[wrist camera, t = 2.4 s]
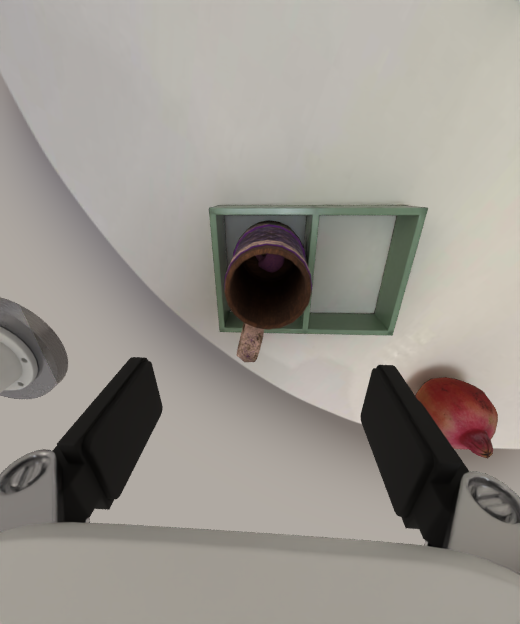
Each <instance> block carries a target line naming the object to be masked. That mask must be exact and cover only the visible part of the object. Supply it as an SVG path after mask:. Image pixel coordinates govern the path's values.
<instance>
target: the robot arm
mask: <svg viewBox="0 0 520 624" xmlns="http://www.w3.org/2000/svg"><path fill="white" fill-rule="evenodd" d="M37 373H38V366H37V361H36V359H35V357H34V355H33V353H32V352H31V350H30V349H29V347H28V346H27V345H26V344H25V343H24V342H23V341H22V340H21V339H19V338H18V337H17V336H16V335H14V334H13V333H11V332H10V331H8V330H6V329H4V328H2V327H1V326H0V393H1V392H2V391H4V390H19V389H22V388H24V387H26V386H28V385H29V384H30V383H31V382H33V381H34V379H35V378H36V376H37ZM161 413H162V403H161V399H160V395H159V391H158V387H157V383H156V379H155V375H154V371H153V367H152V363H151V362H150V361H148V360H147V358H140V357H137V358H136V357H133V358H130V359H129V360H128V361H127V363H126V364H125V365H124V366H123V367H122V368H121V370H120V371H119V372H118V373H117V374H116V375H115V377H114V378H113V379H112V380H111V381H110V382H109V384H108V385H107V386H106V387H105V388H104V389H103V391H102V392H101V393H100V394H99V396H98V397H97V398H96V399H95V400H94V401H93V402H92V403H91V405H90V406H89V407H88V408H87V409H86V410H85V412H84V413H83V414H82V415H81V416H80V417H79V419H78V420H77V421H76V422H75V423H74V425H73V426H72V427H71V428H70V429H69V430H68V432H67V433H66V434H65V435H64V436H63V437H62V439H61V440H60V441H59V442H58V443H57V446H56V447H55V449H54V450H53V451H51V450H37V451H34V452H31V453H28V454H26V455H24V456H23V457H21V458H19V459H17V460H16V461H14V462H13V463H12V464H10V465H9V466H8V467H7V468H6V469H5V470H4V471H3V472H2V473H1V474H0V624H520V497H519V496H518V495H517V494H516V493H515V492H514V491H513V490H511V489H510V488H509V487H508V486H507V485H506V484H504V483H503V482H501V481H499V480H498V479H496V478H494V477H492V476H490V475H488V474H486V473H481V472H477V471H473V472H469V471H468V469H467V467H466V466H465V465H464V463H463V462H462V460H461V459H460V457H459V456H458V454H457V453H456V451H455V450H454V449H453V447H452V446H451V444H450V443H449V441H448V440H447V438H446V437H445V436H444V434H443V433H442V431H441V430H440V428H439V427H438V425H437V424H436V423H435V421H434V420H433V418H432V417H431V415H430V414H429V412H428V411H427V410H426V408H425V407H424V405H423V404H422V403H421V402H420V401H419V400H418V399H417V398H416V396H415V395H414V394H413V392H412V391H411V389H410V388H409V386H408V385H407V383H406V382H405V380H404V379H403V377H402V376H401V374H400V373H399V372H398V370H397V369H396V367H395V366H393V365H378V366H377V368H374V369H373V370H372V373H371V377H370V381H369V385H368V389H367V392H366V396H365V400H364V404H363V408H362V412H361V422H362V425H363V428H364V430H365V433H366V436H367V439H368V441H369V444H370V447H371V449H372V451H373V455H374V457H375V460H376V463H377V465H378V468H379V471H380V473H381V476H382V479H383V481H384V484H385V487H386V489H387V492H388V495H389V497H390V500H391V503H392V506H393V508H394V511H395V512H396V514H397V515H398V516H400V517H402V520H403V522H404V525H405V527H406V528H413V529H420V532H421V534H422V536H423V539H425V544H424V546H422V545H413V544H402V543H391V542H380V541H369V540H355V539H342V538H328V537H313V536H299V535H284V534H270V533H255V532H239V531H224V530H209V529H193V528H176V527H159V526H143V525H125V524H103V523H90V518H89V517H90V516H91V514H92V512H93V510H94V509H110V507H111V505H112V503H113V501H114V499H117V498H118V497H119V496H120V494H121V493H122V491H123V489H124V487H125V485H126V483H127V481H128V479H129V477H130V475H131V473H132V471H133V469H134V467H135V465H136V463H137V461H138V459H139V457H140V455H141V453H142V451H143V449H144V447H145V445H146V443H147V441H148V439H149V437H150V435H151V433H152V431H153V429H154V428H155V425H156V423H157V422H158V420H159V418H160V416H161Z"/></svg>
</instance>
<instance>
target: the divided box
mask: <svg viewBox="0 0 520 624" xmlns="http://www.w3.org/2000/svg"><path fill="white" fill-rule="evenodd" d="M427 210H428V208H425V207H416V206H407V205H218V206H214V207H210V208H209V215H210V227H211V238H212V249H213V261H214V272H215V284H216V295H217V306H218V318H219V330H220V332H242V327H243V323H244V322H242V321H241V320H240V319H239V318H238V317H236V316H235V315H234V313H233V312H230V307H229V306H228V304H227V300H226V296H225V293H224V292H225V290H224V284H225V275H226V272H227V256H226V240H225V224H224V215H306V228H305V241H304V251H305V260H306V263H307V265H308V267H309V270H310V273H311V280H312V285H313V275H314V264H315V254H316V244H317V234H318V224H319V215H397V219H396V223H395V227H394V231H393V236H392V240H391V244H390V249H389V253H388V257H387V262H386V266H385V270H384V275H383V279H382V283H381V288H380V292H379V296H378V301H377V305H376V309H375V314H344V313H310V305H311V296H310V301H309V304H308V306H307V307H306V309H305V311H304V312H303V314H302V315H301V316H300V317H299V318H297V319H296V320H295V321H294V322H293V323H291V324H289V325H286V326H284V327H282V328H277V329H270V330H267V329H264V333H295V334H345V335H393V332H394V328H395V324H396V321H397V317H398V314H399V310H400V307H401V303H402V299H403V296H404V292H405V289H406V285H407V282H408V278H409V274H410V271H411V267H412V264H413V260H414V257H415V253H416V249H417V246H418V242H419V239H420V235H421V232H422V228H423V225H424V221H425V217H426V214H427ZM311 295H312V292H311Z"/></svg>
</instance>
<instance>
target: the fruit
mask: <svg viewBox="0 0 520 624" xmlns="http://www.w3.org/2000/svg"><path fill="white" fill-rule="evenodd" d="M416 398H417V399H418V400H419V401H420V402H421V403H422V404H423V405H424V407H425V408H426V410H427V411H428V412H429V414H430V415H431V417H432V418H433V420H434V421H435V423H436V424H437V425H438V427H439V428H440V430H441V431H442V433H443V434H444V436H445V437H446V438H447V440H448V441H449V443H450V444H451V446H452V447H453V448H455V449H469V450H471V451H472V452H473V453H475V454H476V455H478V456H481V457H484V458H488V457H490V456H491V455H492V454H493V447H492V443H491V439H492V437H493V435H494V433H495V431H496V426H497V422H498V414H497V412H496V409H495V407H494V406H493V404H492V403H491V402H490V400H489V399H488V397H487V396H486V395H485V393H484V392H483V391H482V390H480V389H478V388H477V387H475V386H473V385H471V384H469V383H466V382H464V381H461V380H457V379H453V378H447V377H443V378H434V379H430V380H429V381H427V382H426V383H424V385H423V386H422V387H421V388H420V389H419V391H418V392H417V394H416Z"/></svg>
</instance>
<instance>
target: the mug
mask: <svg viewBox="0 0 520 624" xmlns="http://www.w3.org/2000/svg"><path fill="white" fill-rule="evenodd" d="M224 290H225V292H224V293H225V296H226V300H227V304H228V306H229V307H230V309H231V310H232V312H233V313H234V315H235V316H236V317H238V318H239V319H240V320H241V321H242V322H244V323H243V327H242V332H241V337H240V341H239V345H238V350H237V356H238V357H239V358H240V359H241V360H243V361H244V362H255V361H256V359H257V357H258V354H259V350H260V347H261V343H262V339H263V333H264V329H267V330H270V329H277V328H282V327H284V326H286V325H289V324H291V323H293V322H294V321H295V320H296V319H297V318H299V317H300V316H301V315H302V314H303V312H304V311H305V309H306V307H307V306H308V304H309V301H310V296H311V292H312V280H311V273H310V270H309V267H308V265H307V263H306V260H305V251H304V248H303V246H302V244H301V241H300V239H299V237H298V236H297V235H296V234H295V233H294V232H293V231H292V230H291V229H290V228H289V227H288V226H286V225H284V224H282V223H280V222H276V221H264V222H259V223H257V224H255V225H253V226H252V227H250V228H249V229H248V230H247V231H246V232H245V233H244V234H243V235H242V236H241V237H240V238H239V241H238V243H237V245H236V248H235V250H234V252H233V258H232V260H231V262H230V265H229V267H228V270H227V272H226V275H225V284H224Z"/></svg>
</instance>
